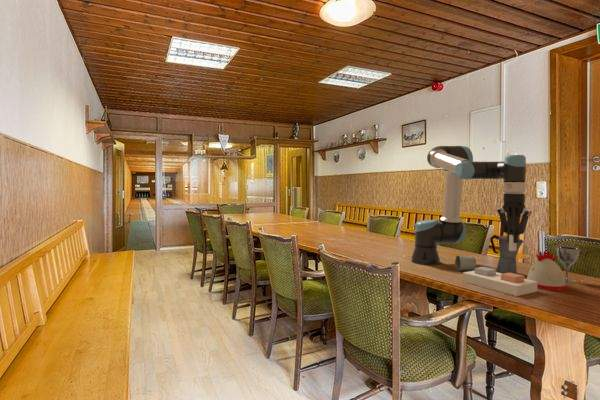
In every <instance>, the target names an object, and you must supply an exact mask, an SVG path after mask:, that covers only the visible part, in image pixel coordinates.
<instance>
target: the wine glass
mask: <svg viewBox="0 0 600 400" xmlns="http://www.w3.org/2000/svg"><path fill="white" fill-rule="evenodd" d="M579 253H580V248H579V247H576V246H575V247H574V246H568V245H567V246H566V245H565V246H564V245H559V246H556V255H557V256H556V257H557V259H558V260H559V262H560V263H561V264H562V265H563V267H564V270H565V277H564V278H565V282H566V283H571V284H572V283H573V284H576V283H577V282H578V281H577V280H575V279H571V278H569V271H570V268H571V267H572V265H574V264H575V263H576V262H577V261H578V259H579V255H580V254H579Z"/></svg>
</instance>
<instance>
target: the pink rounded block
mask: <svg viewBox="0 0 600 400" xmlns="http://www.w3.org/2000/svg"><path fill="white" fill-rule="evenodd" d="M524 279H525V275H523V274H519V273H517V274H514V273H510V272H509V273H504V274H503V273H502V274H501V280H504V281H508V282H512V283H519V282H524Z"/></svg>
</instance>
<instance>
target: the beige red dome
mask: <svg viewBox="0 0 600 400" xmlns="http://www.w3.org/2000/svg"><path fill="white" fill-rule="evenodd" d="M538 253H539V254H535V256H536V258H537V261H535V262H534V263H533V264H532V265H531V267H530V269H529V271H528V274H527V276H526V279H528V280H533V281H537V289H540V290H546V291H564V290H566V288H567V282H565V278H566V277H565V276H564V272H563V271H562V269H561V267H560V266H559V264H558V263H557V262H556V259H557V256H556V255H555V256H554V254H553V253H550V250H547V251H545V250H543V253H542V251H539V252H538Z"/></svg>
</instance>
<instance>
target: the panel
mask: <svg viewBox="0 0 600 400" xmlns="http://www.w3.org/2000/svg"><path fill="white" fill-rule="evenodd" d="M501 274H503V273H499V272H497V271H496V275H492V276H484V275H479V274H475V270H473V271H463V272H462V282H463V283H467V284H470V285H474V286H477V287H481V288H485V289H488V290H492V291H496V292H499V293H504V294H507V295H510V296H515V297H519V296H522V295H523V296H524V295H528V294H532V293H535V292H538V288H537V281H533V280H528V279H527V278H524V282H519V283H512V282H508V281H504V280H501Z"/></svg>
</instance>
